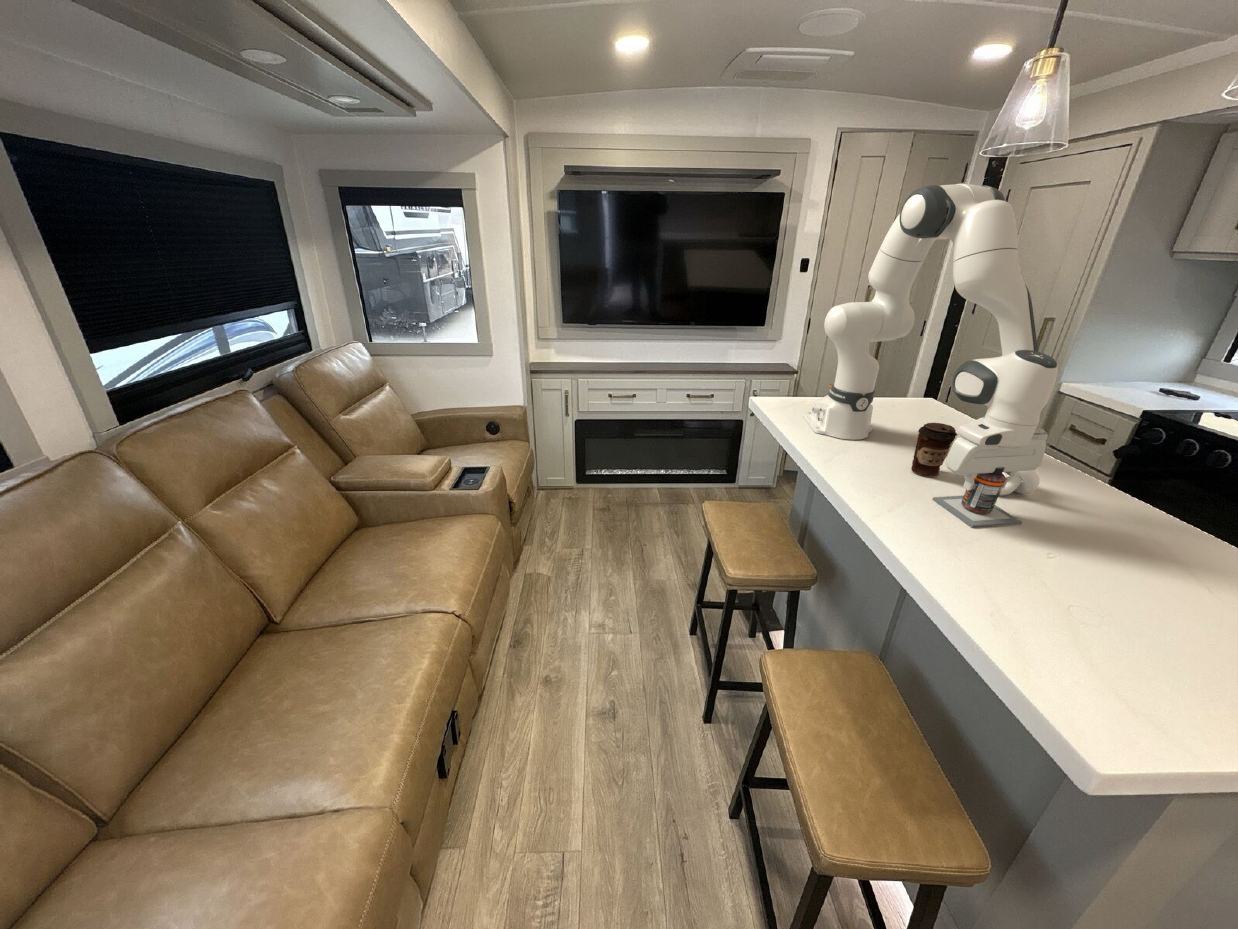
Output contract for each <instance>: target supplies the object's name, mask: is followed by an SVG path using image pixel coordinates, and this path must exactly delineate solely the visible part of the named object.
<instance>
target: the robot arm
mask: <svg viewBox="0 0 1238 929" xmlns="http://www.w3.org/2000/svg"><path fill="white" fill-rule="evenodd" d="M901 206H902V207H901V209H900V212H899V214H898V215H897V217H896V218H895V220H894V221H893V222H892V224H891V226H890V227H889V229H888V232H887V233H886V235H885V236H884V239H883V241H882V243H881V245H880V247H879V249H878V251H877V253H876V256H875V258H874V261H873V262H872V265H871V267H870V269H869V272H868V276H867V279H868V282H869V284H870V286H871V287H872V289H873V290H875V294H874V297H873V299H872V300H871V301H858V302H857V301H851V302H846V303H842V304H838V305H835V306H833V307H831V308H830V309H829V311H828V312H827V314H826V316H825V319H824V323H823V328H824V332H825V334H826V337H828V339H829V340H830V341H832V344H834V347H835V349H836V352H837V368H836V373H835V377H834V378H835V379H834V383H833V384H829V387H828V388H829V392H828V394H827V395H825V396H823V397H822V398H820V399H817V400H815V401H814V402H813V405H812V409H811V411H810V412H805V413H803V414H802V418H803V419H804V420H805V422H806V423H807V424H808V425H809V427H810V428H811V429H812V431H814V433H816V434H821V435H826V436H830V437H833V438H836V439H841V440H863V439H867V437H869V433H871V432H872V430H873V427H872V426H871V423H872V415H873V409H874V407H873V405H872V403H873V401H874V398H875V393H876V391H875V386H876V382H877V378H878V374H879V370H880V364H879V361H878V359H876V358H875V357H873V356H872V355H871V354H870V343H874V342H876V343H877V342H889V341H893V340H897V339H898V340H899V339H902V338H904V337H906V336H907V335H909V334H910V332H911V331H912V329H913V328H914V325H915V322H916V320H915V319H916V315H915V314H916V313H915V312H914V309H913V307H912V305H911V304H910V295H911V290H912V286H913V284H914V282H915V280H916V278H917V277H918V276H917V275H918V274H919V272H920V269H921V268H922V265H923V264H924V262H925V260H926V258H927V256H928V253H929V251H930V249H931V248H932V246H933V244H934V242H936V241H937V240H948V239H950V241H951V242H952V246H953V252H952V253H953V254H952V256H953V258H952V259H953V260H952V263H953V264H952V280H953V284H954V288H955V290H956V292H957V293H958V294H959V296H961V297H962V298H963V299H965V300H967V301H968V302H970V303H973V304H975V305H978V306H981V307H982V308H984V309H986V311H988V312H990V313H991V314H992V315H993V316H994V318H995V319H996V321H997V325H998V332H999V339H1000V347H1001V355H1000V356H997V357H996V356H995V357H987V358H976V359H971V360H966V361H965V362H962V363H961V364H960V365H959V366H958V368H956V370H955V371H954V373H953V375H952V380H951V388H952V391H953V394H955V395H954V396H956V398H957V399H958V400H960V401H962V402H964V403H968V404H975V405H984V406H985V407H986V408H987V409H986V411H985V412H986V413H985V415H984V416H982V417H980V418H977V419H975V420H973V421H970V422H968V423H964V424H962V425H960V426H959V427H958V429H957V435H959V436H958V437H957V438H955V439H954V441H953V442H952V443H951V446H950V448H949V452H948V455H947V457H946V459H945V466H946V468H947V469H948V470H949V472H950V471H951V472H952V473H954V474H955V475H959V476H960V475H961V476H963V477H964V483H963V488H964V489H965V490H966V489H967V490H975V489H976V486H977V483H976V482H974V477H977V474H981V473H993V472H994V471H995V468H998V467H1005V468H1004V472H1003V473H1002V474H1004V476H1005V478H1006V480H1005V483H1004V485H1003V487H1002V488H1005V486H1006V483H1007V482H1008V481H1009V480H1010V479H1011V478H1012V477H1014V476H1015V474H1016V472H1017V471H1031V470H1035V471H1036V470H1037V469H1038V468H1039V467H1040V466H1041V464H1042V462H1043V459H1044V455H1045V452H1046V448H1047V439H1048V436H1049V434H1048V433H1047V432H1046V431H1045V429H1044V428H1038V426H1039V423H1040V416H1041V412H1042V410H1043V409H1044V407H1045V406H1046V405H1047V404H1048V402H1049V400H1050V398H1051V396H1052V393H1053V390H1054V388H1055V385H1056V382H1057V377H1058V374H1059V364H1058V362H1057V360H1056V359H1055V358H1054V357H1052V356H1050V355H1049V354H1046V353H1044V352H1040V351H1039V349H1038V341H1037V333H1036V324H1035V316H1034V309H1033V302H1032V296H1031V293H1030V291H1029V288H1028V286H1027V285H1026V283H1025V281H1024V278H1023V276H1022V272H1021V268H1020V262H1019V261H1020V260H1019V235H1018V226H1017V221H1016V215H1015V212H1014V208H1013V206H1012V205H1011V204H1010V203H1009V202H1008V201H1006V198H1005V196H1004V194H1003V192H1002V191H1001V190H999V189H997V188H996V187H993V186H989V185H977V184H971V183H956V184H943V185H942V184H941V185H940V184H939V185H938V184H930V185H926V186H921V187H918V188H916V189H915V190H913V191H912V192H911V193H910V194H909V195H907V197H906V198H905V200H904V202H903V203H902V205H901Z"/></svg>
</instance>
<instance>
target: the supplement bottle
mask: <svg viewBox="0 0 1238 929" xmlns="http://www.w3.org/2000/svg"><path fill="white" fill-rule="evenodd" d="M1004 468H1005V467H998V468H995V471H994V472H993V473H981V474H977V477H974V482H976V483H977V486H976V489H975V490H967V489H965V491H964V494H963V495H964V496H963V498H962V502H961V503H962V505H963V506H964V507H965V508H966V509H968V510H970V511H972V512H975V513H980V514H987V513H990V512H991V511H992V510H993V508H994V506H995V505H996V503H997V500H998V499H999V496H1000V495H999V494H1000V492H1001V490H1002V487H1003V485H1004V483H1005V480H1006V478H1005V476H1004V474H1002V473H1003V472H1004Z"/></svg>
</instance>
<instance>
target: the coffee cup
mask: <svg viewBox="0 0 1238 929" xmlns="http://www.w3.org/2000/svg"><path fill="white" fill-rule="evenodd" d="M917 432H918V435H917V439H916V445H915V449H914V453H913V454H914V455H913V459H912V464H911V467H910V468H911V472H912V473H914V474H916V475H919V476H923V477H927V478H937V477H938V476H940V470H941V466H942V465H943V464H944V463H945V462H944V461H946V459H947V457H948V454H949V451H950V449H951V446H952V444H953V443H954V441H955V440H956V437H957V436H958V433H957V432H956V428H955V427H953V426H952V425H950V424H945V423H940V422H927V423H925V424H923V426H921V427H920V428H919V429H918V431H917Z"/></svg>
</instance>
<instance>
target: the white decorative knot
mask: <svg viewBox="0 0 1238 929" xmlns="http://www.w3.org/2000/svg"><path fill="white" fill-rule="evenodd" d="M1040 482H1041V481H1040V477H1039V474H1038V473H1037V471H1036V469H1035V470H1031V471H1017V472H1016V474H1015V476H1014V477H1012V478H1011V479H1010V480H1009V481H1008V482H1007V483H1006V486H1005V488H1002V490H1001V492H1000V494H999V496H1006V495H1010V494H1011V493H1013V492H1014V493H1017V494H1020V495H1028V494H1032V493H1034V492H1035V491H1037V489H1038V488H1039V485H1040Z"/></svg>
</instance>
